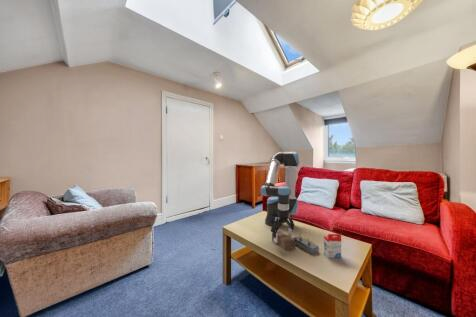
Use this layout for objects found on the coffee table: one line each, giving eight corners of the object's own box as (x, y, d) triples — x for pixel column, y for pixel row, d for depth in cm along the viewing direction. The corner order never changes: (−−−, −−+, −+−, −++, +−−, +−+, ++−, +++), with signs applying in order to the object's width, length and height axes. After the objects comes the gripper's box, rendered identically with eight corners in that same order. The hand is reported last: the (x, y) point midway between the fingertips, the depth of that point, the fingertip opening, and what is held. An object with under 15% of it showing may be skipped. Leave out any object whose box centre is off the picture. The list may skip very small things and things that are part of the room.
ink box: (336, 253, 114) (337, 230, 113) (341, 257, 109) (341, 234, 108) (323, 253, 113) (323, 230, 113) (327, 258, 108) (328, 234, 108)
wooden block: (272, 240, 129) (272, 232, 129) (279, 238, 133) (279, 230, 132) (287, 250, 116) (287, 241, 116) (294, 248, 120) (295, 239, 119)
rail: (293, 243, 126) (293, 232, 125) (299, 241, 129) (299, 231, 128) (312, 254, 112) (312, 243, 111) (318, 252, 115) (318, 240, 114)
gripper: (273, 213, 114) (272, 246, 114) (300, 208, 126) (299, 237, 127) (265, 210, 120) (265, 241, 121) (292, 205, 133) (291, 233, 133)
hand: (283, 239), depth 124 cm, fingers open, 13 cm apart
